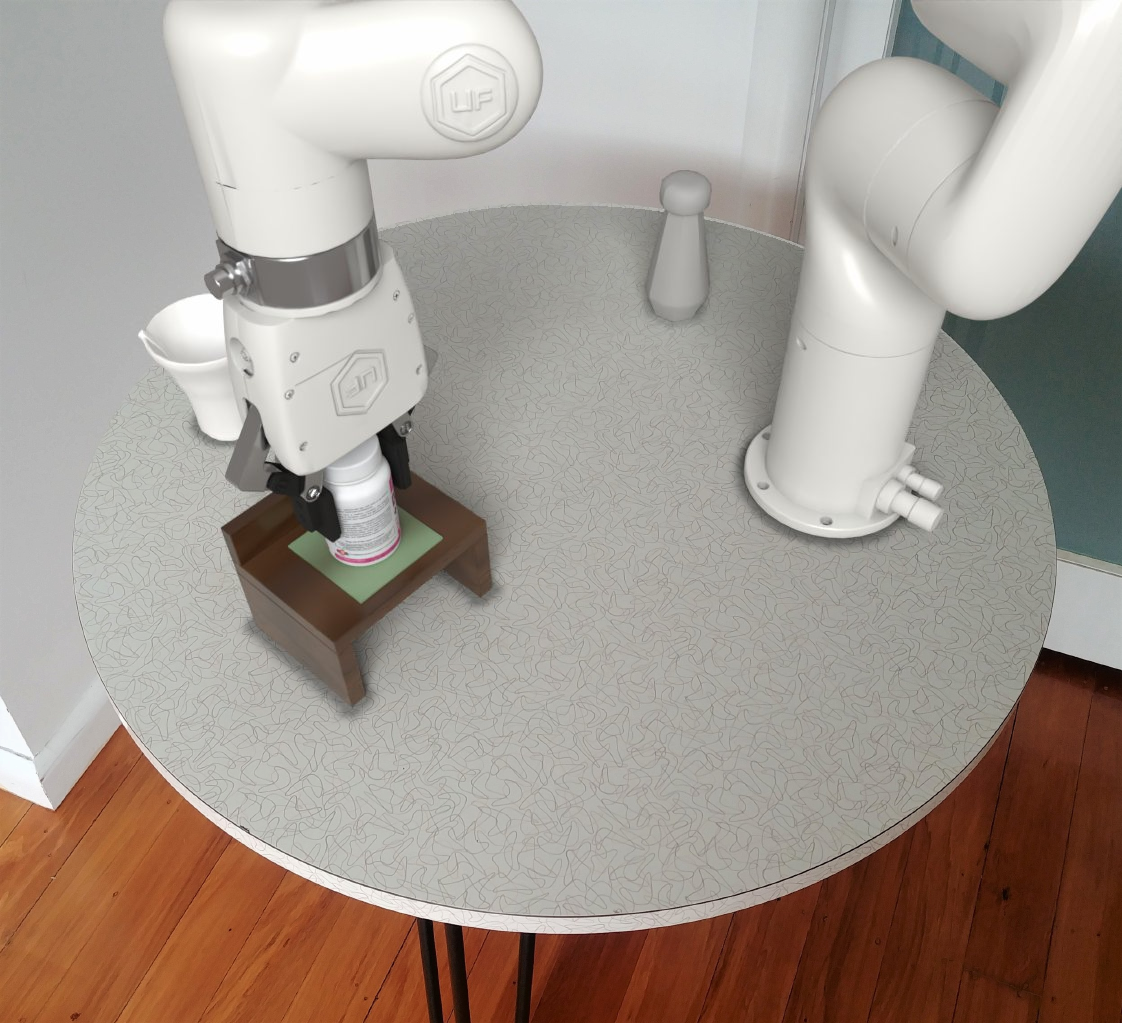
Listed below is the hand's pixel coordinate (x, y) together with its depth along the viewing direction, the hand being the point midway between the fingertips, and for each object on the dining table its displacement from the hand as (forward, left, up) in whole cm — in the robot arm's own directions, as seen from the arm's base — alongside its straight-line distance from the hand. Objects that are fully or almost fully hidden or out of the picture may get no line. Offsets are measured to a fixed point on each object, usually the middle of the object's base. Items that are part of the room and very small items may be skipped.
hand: (356, 500), depth 65 cm
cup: (+23, -5, -11) cm, 26 cm away
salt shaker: (+5, -41, -11) cm, 43 cm away
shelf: (0, 0, -11) cm, 11 cm away
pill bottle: (0, 0, -4) cm, 4 cm away
